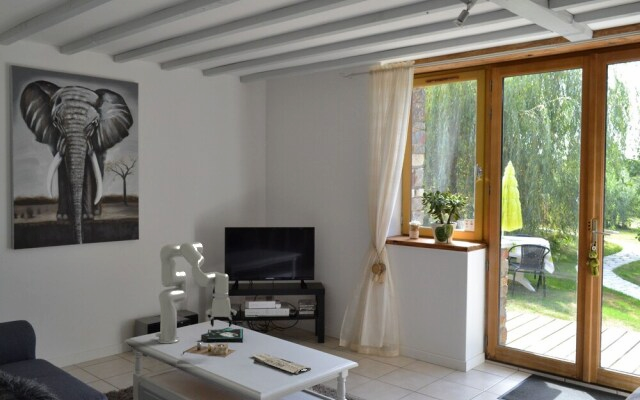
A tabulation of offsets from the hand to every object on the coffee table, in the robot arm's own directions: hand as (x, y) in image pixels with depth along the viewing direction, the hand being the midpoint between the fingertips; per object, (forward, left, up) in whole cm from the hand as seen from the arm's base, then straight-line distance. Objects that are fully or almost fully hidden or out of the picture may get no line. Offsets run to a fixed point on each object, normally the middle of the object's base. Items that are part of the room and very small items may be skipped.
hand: (221, 326), depth 325 cm
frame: (0, 0, -15) cm, 15 cm away
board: (-7, 0, -16) cm, 18 cm away
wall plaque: (-13, +29, -17) cm, 36 cm away
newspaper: (+37, -4, -17) cm, 41 cm away
